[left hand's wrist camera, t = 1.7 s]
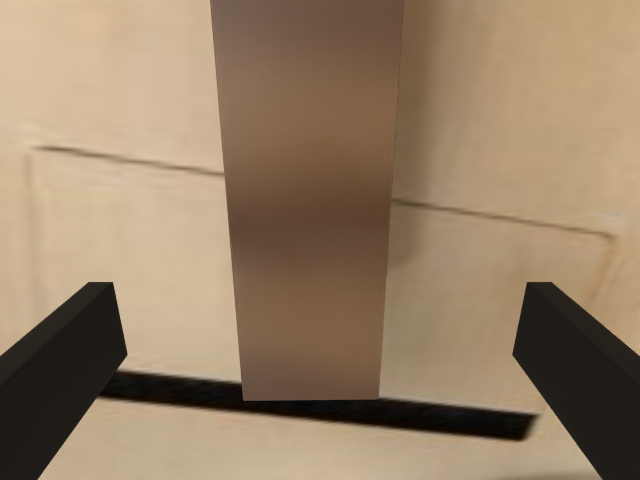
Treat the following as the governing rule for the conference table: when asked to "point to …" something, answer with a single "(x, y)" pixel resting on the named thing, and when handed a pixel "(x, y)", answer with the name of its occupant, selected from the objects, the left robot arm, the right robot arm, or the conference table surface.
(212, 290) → the conference table surface
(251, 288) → the bar
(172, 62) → the conference table surface
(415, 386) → the conference table surface
